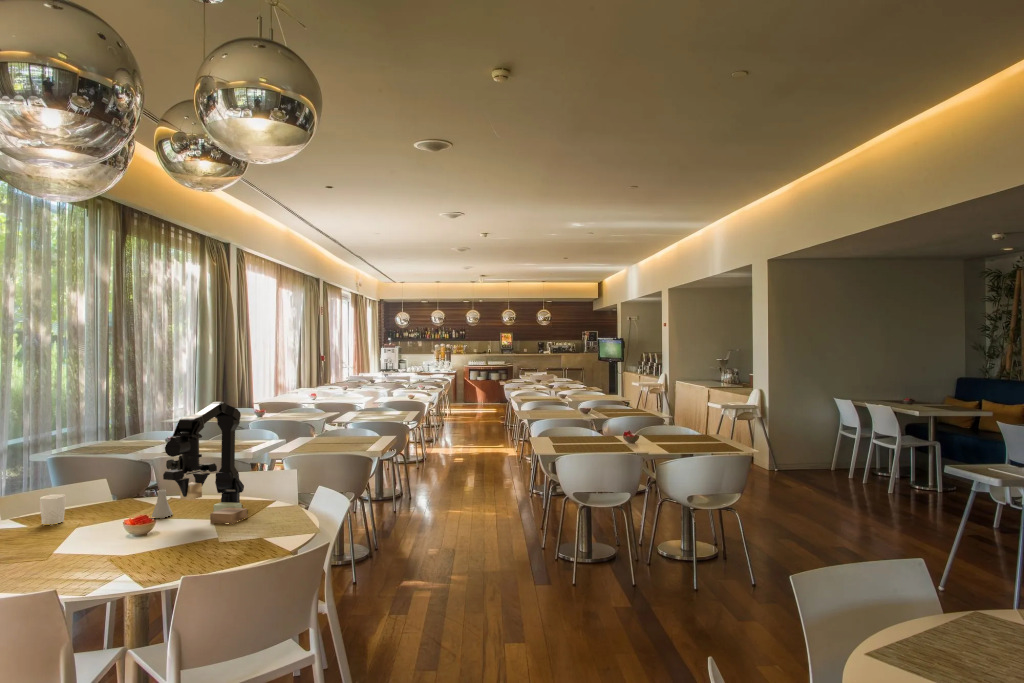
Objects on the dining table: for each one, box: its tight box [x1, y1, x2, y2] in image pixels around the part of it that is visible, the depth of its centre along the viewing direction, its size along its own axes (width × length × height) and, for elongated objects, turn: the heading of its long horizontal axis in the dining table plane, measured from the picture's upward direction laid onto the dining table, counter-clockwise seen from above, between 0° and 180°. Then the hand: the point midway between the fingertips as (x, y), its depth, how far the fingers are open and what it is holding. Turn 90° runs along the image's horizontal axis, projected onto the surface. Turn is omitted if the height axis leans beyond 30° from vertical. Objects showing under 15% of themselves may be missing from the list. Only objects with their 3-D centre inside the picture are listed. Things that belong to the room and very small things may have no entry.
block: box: [213, 501, 243, 512], centre depth 256 cm, size 4×9×4 cm, turn 79°
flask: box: [151, 489, 174, 519], centre depth 253 cm, size 7×7×10 cm
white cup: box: [39, 493, 66, 525], centre depth 246 cm, size 8×8×10 cm
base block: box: [209, 507, 248, 525], centre depth 246 cm, size 9×9×4 cm
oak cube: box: [179, 481, 203, 501], centre depth 241 cm, size 5×5×5 cm
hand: (191, 495), depth 241 cm, fingers closed on oak cube, 5 cm apart
